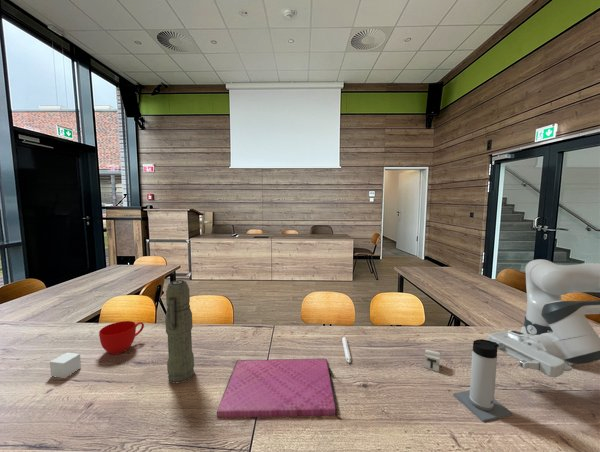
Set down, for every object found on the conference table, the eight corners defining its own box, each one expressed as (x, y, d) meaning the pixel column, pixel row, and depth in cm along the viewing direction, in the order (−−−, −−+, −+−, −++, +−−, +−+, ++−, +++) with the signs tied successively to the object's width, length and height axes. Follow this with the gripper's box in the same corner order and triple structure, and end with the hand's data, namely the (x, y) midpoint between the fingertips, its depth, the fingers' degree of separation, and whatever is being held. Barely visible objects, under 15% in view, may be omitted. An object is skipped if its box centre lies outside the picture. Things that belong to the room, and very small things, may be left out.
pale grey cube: (81, 368, 101) (80, 353, 101) (64, 379, 96) (63, 363, 95) (67, 367, 102) (66, 352, 102) (51, 377, 96) (49, 361, 96)
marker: (351, 365, 104) (352, 359, 104) (346, 365, 104) (346, 359, 104) (346, 341, 122) (346, 336, 122) (341, 341, 122) (342, 336, 122)
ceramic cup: (152, 343, 119) (150, 322, 118) (109, 362, 105) (107, 338, 104) (137, 335, 126) (136, 315, 125) (94, 352, 112) (93, 329, 111)
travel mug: (498, 413, 79) (503, 349, 78) (474, 409, 81) (478, 346, 79) (488, 398, 85) (492, 338, 84) (465, 395, 87) (469, 336, 85)
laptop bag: (215, 406, 78) (236, 355, 105) (215, 419, 78) (236, 365, 106) (350, 404, 79) (336, 354, 106) (350, 417, 79) (336, 363, 106)
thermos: (197, 364, 104) (194, 276, 101) (189, 384, 92) (185, 286, 89) (173, 366, 103) (170, 277, 100) (162, 387, 91) (157, 287, 88)
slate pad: (480, 389, 90) (480, 388, 90) (513, 415, 79) (513, 413, 79) (453, 395, 88) (453, 393, 88) (482, 421, 77) (483, 420, 77)
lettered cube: (425, 361, 106) (425, 349, 106) (439, 364, 104) (439, 352, 104) (424, 368, 102) (424, 356, 101) (438, 372, 99) (439, 359, 99)
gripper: (574, 378, 79) (542, 387, 75) (504, 343, 99) (476, 349, 95) (576, 358, 79) (544, 366, 75) (505, 327, 98) (477, 332, 94)
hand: (505, 356), depth 85 cm, fingers open, 8 cm apart
